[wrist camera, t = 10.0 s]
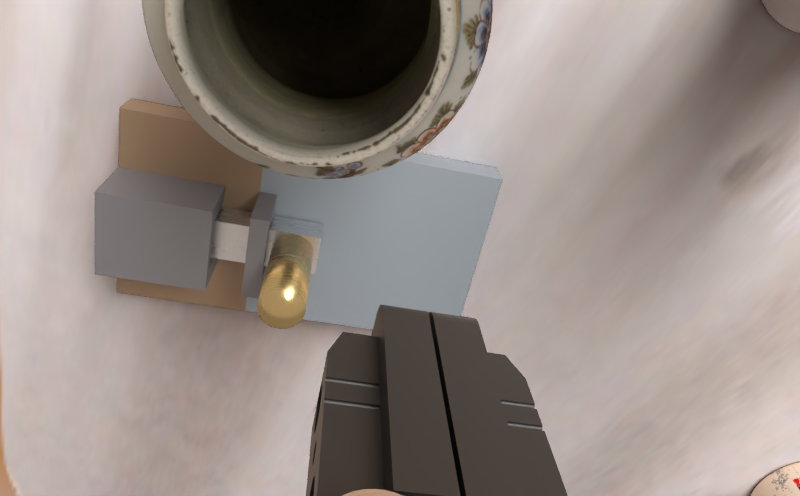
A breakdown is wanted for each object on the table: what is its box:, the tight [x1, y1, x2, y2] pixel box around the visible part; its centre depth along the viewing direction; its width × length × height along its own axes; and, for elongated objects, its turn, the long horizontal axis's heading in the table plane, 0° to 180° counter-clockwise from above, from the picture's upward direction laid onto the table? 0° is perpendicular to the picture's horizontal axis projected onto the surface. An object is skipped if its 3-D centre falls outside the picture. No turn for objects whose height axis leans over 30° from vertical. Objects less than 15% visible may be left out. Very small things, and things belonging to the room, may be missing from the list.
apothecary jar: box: [142, 0, 492, 179], centre depth 26 cm, size 12×12×18 cm
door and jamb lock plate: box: [95, 99, 503, 330], centre depth 38 cm, size 22×12×6 cm, turn 78°
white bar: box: [210, 207, 323, 329], centre depth 35 cm, size 10×2×8 cm, turn 78°
